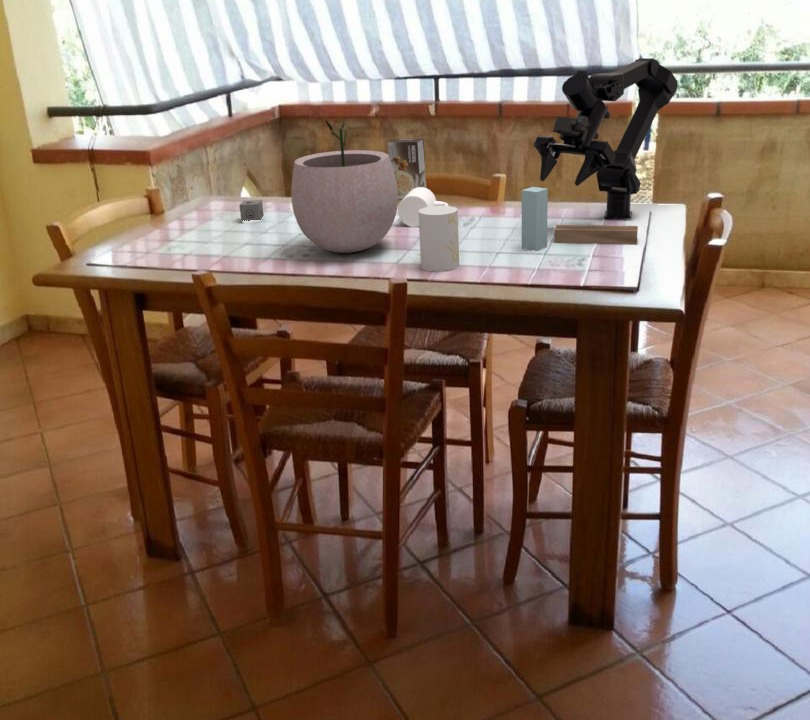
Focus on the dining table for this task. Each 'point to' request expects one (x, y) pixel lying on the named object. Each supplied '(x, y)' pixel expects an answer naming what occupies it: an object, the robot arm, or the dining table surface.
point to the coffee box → (407, 164)
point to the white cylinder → (439, 238)
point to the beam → (596, 234)
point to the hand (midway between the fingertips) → (558, 182)
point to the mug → (416, 205)
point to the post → (534, 218)
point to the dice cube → (251, 210)
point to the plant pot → (344, 197)
